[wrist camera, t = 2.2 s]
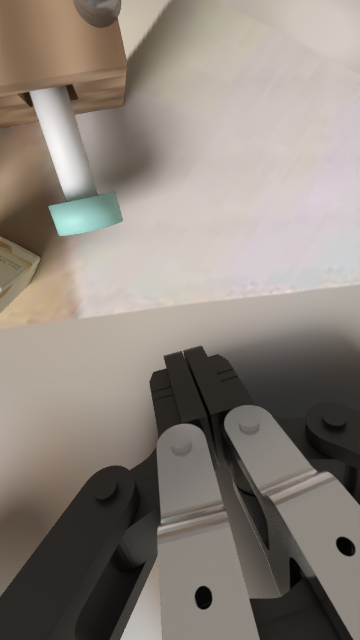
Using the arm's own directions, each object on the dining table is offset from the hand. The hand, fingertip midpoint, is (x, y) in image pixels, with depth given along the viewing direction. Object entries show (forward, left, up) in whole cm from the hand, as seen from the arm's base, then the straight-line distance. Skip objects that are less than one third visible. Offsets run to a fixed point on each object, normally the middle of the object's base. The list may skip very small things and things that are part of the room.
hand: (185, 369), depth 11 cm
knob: (+4, -11, -23) cm, 26 cm away
